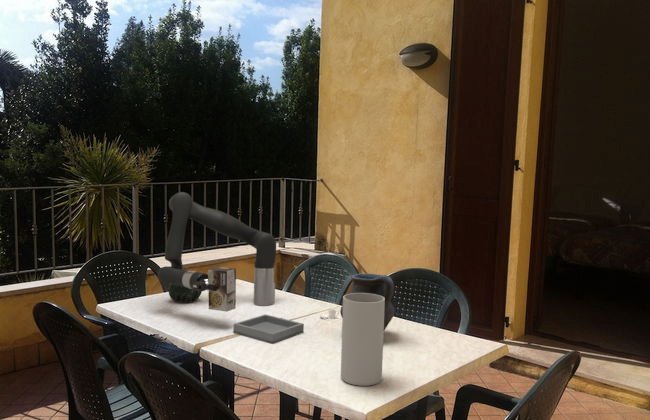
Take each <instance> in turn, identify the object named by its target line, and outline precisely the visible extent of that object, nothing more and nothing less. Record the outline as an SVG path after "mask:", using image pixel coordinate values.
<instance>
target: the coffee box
mask: <svg viewBox="0 0 650 420" xmlns="http://www.w3.org/2000/svg"><path fill="white" fill-rule="evenodd" d="M207 270H208V271H207V272H208V273H207V274H208V284H212V285H217V291H212V290H208V310H214V311H220V312H227V313H228V312H230V311H232V310H235V309H236V303H237V302H236V301H237V299H236V298H237V297H236V294H237V293H236V292H237V291H236V290H237V288H236V286H237V285H236V284H237V282H236V281H237V275H236V274H237V273H236V272H237V268H236V267H234V268H233V267H224V266H215V267H211V268H209V269H207Z"/></svg>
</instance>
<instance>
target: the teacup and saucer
mask: <svg viewBox="0 0 650 420" xmlns="http://www.w3.org/2000/svg"><path fill="white" fill-rule="evenodd" d="M319 318H321V319H323V320H326V321H329V322H330V321H331V322H333V321H334V322H335V321H340V320H342V316H341V317H340V316H339V311H337V309H335V308H329V309H328V314H323V313H322V314H320V315H319ZM336 318H337V319H336Z"/></svg>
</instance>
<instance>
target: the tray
mask: <svg viewBox="0 0 650 420" xmlns="http://www.w3.org/2000/svg"><path fill="white" fill-rule="evenodd" d="M304 326H305V324H304V322H298V321H294V320H292V319H291V320H289V319H286V318H282V317H277V316H273V315H269V314H262V315H258V316H255V317H252V318H249V319H245V320H241V321H238V322H235V323H233V326H232V327H233V331H232V332H234V333H233V334H236V333H237V334H236V335H239V336H244V337H248V338H250V339H254V340H258V341H262V342H265V343H268V344H272V345H273V344H275V343H276V344H277V343H279V342H282V341H284V340H287V339H290V338H292V337H295V336H297V335H298V336H299V335H301V334H304V331H305V329H304Z"/></svg>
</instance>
